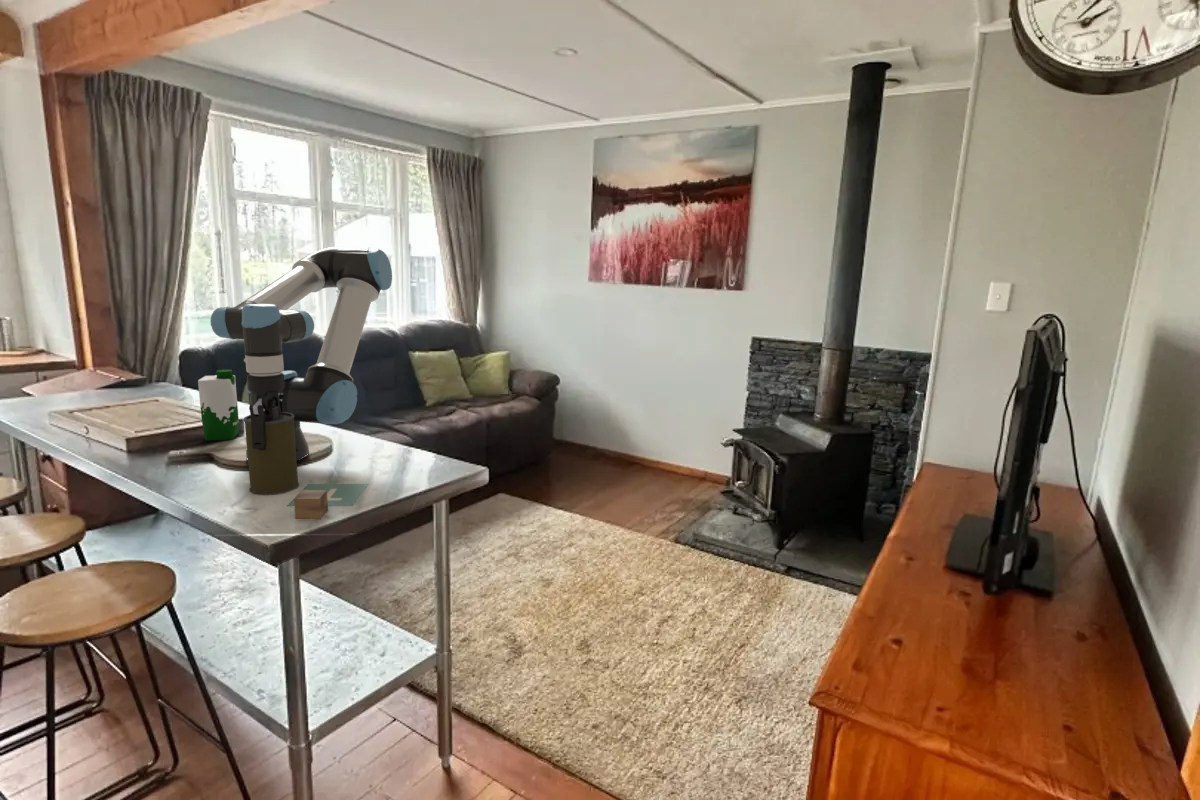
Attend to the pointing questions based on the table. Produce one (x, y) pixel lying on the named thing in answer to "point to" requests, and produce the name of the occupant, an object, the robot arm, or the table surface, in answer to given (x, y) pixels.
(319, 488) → the letter card
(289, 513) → the table surface
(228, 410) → the milk carton
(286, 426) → the canister
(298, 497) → the block
